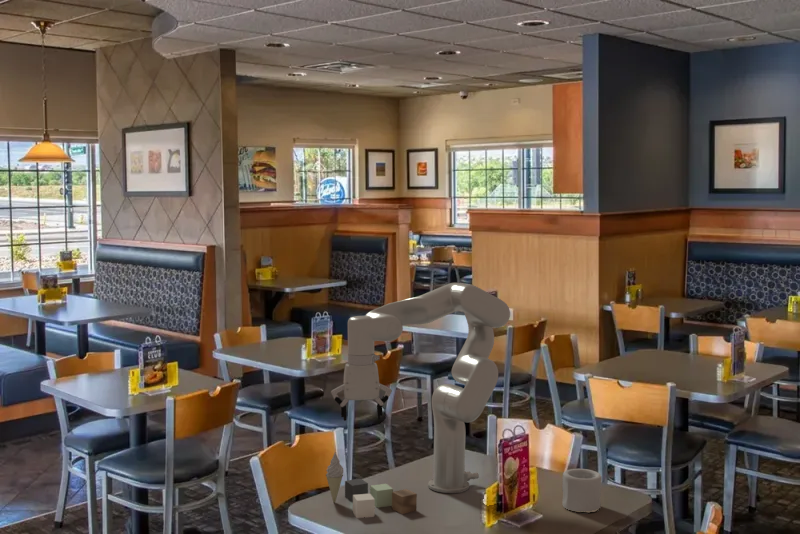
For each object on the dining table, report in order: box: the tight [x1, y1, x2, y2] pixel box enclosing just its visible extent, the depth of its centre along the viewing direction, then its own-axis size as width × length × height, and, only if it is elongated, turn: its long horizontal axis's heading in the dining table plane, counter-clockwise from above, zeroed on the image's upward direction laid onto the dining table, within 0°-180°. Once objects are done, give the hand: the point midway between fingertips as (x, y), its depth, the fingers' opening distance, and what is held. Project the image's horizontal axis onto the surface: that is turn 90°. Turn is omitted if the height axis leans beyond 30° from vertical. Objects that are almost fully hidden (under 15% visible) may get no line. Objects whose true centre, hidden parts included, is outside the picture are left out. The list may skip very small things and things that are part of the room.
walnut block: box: [391, 488, 418, 515], centre depth 252 cm, size 5×5×5 cm
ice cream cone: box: [325, 451, 344, 504], centre depth 256 cm, size 5×5×15 cm
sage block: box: [369, 483, 394, 508], centre depth 256 cm, size 5×5×5 cm
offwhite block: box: [352, 493, 376, 519], centre depth 248 cm, size 5×5×5 cm
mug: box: [561, 468, 602, 512], centre depth 257 cm, size 14×11×10 cm
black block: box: [344, 478, 369, 503], centre depth 261 cm, size 5×5×5 cm
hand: (361, 418), depth 254 cm, fingers open, 9 cm apart
